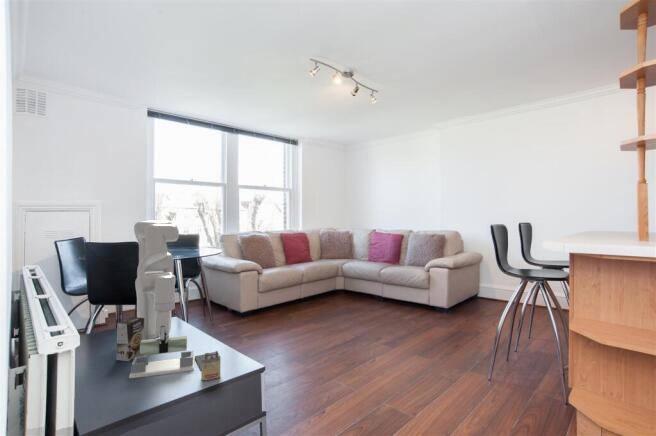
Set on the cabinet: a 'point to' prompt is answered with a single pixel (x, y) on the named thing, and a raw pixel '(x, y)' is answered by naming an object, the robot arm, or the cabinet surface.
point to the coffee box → (129, 338)
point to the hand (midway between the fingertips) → (164, 350)
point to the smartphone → (199, 361)
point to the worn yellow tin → (210, 366)
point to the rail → (153, 345)
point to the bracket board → (162, 365)
